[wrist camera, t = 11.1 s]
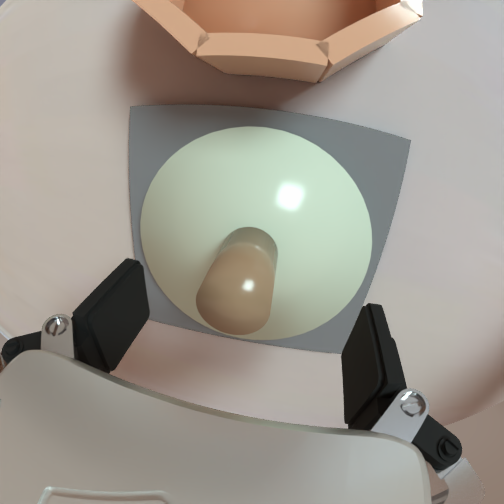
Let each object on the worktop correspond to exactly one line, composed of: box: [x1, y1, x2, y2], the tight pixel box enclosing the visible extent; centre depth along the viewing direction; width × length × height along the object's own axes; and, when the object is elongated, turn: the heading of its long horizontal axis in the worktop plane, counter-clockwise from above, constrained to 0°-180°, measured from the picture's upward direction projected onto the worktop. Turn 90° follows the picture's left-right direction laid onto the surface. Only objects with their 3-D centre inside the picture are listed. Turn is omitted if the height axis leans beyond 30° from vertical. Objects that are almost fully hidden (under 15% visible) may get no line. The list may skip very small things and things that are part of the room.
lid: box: [140, 126, 372, 340], centre depth 14 cm, size 14×14×6 cm
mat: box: [129, 105, 411, 354], centre depth 17 cm, size 16×16×1 cm
